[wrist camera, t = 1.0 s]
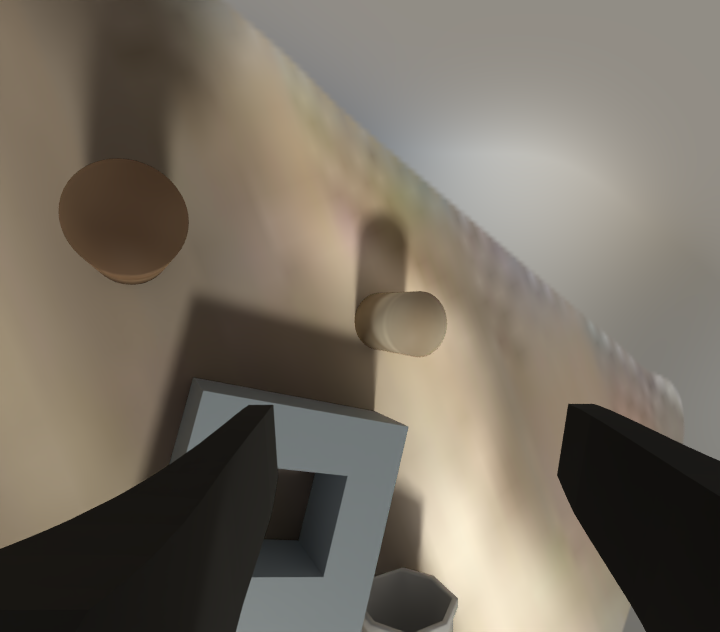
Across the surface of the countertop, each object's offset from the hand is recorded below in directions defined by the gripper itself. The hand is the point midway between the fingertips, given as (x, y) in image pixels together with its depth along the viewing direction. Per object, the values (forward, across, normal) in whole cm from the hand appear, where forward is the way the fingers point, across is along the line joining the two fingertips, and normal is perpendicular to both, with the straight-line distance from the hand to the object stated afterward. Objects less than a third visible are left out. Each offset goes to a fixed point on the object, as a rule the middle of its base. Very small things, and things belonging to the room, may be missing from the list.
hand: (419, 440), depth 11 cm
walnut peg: (+10, +12, -3) cm, 16 cm away
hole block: (+9, +6, +9) cm, 14 cm away
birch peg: (+15, 0, +2) cm, 15 cm away
